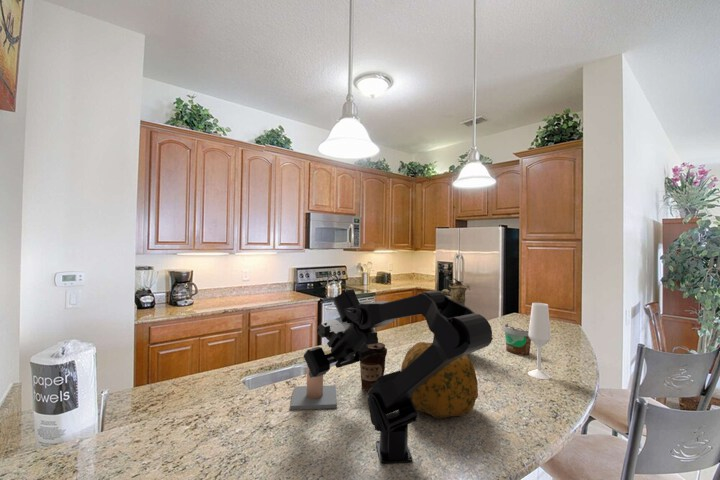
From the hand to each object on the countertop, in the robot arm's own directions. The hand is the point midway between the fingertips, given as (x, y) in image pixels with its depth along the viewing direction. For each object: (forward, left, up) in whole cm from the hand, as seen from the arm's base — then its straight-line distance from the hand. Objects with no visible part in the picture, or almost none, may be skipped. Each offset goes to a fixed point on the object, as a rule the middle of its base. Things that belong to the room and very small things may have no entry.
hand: (323, 370), depth 85 cm
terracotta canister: (+3, +2, -8) cm, 9 cm away
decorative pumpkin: (-4, -31, -9) cm, 32 cm away
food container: (+36, -78, -9) cm, 86 cm away
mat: (+3, +2, -9) cm, 10 cm away
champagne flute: (+14, -73, -9) cm, 74 cm away
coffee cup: (+8, -15, -9) cm, 19 cm away
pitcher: (+37, -53, -9) cm, 65 cm away
